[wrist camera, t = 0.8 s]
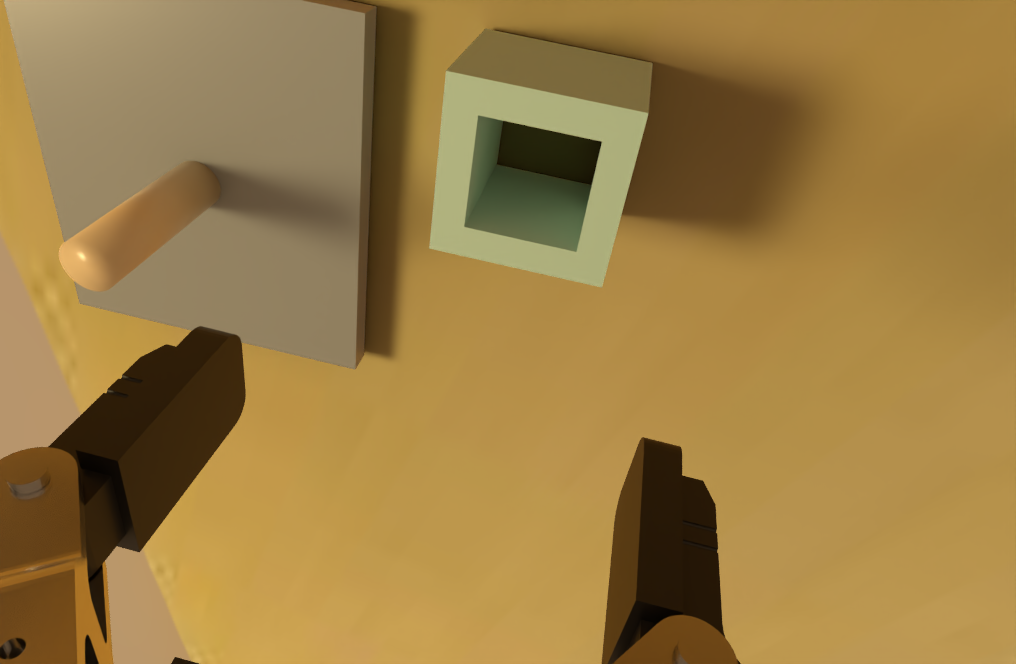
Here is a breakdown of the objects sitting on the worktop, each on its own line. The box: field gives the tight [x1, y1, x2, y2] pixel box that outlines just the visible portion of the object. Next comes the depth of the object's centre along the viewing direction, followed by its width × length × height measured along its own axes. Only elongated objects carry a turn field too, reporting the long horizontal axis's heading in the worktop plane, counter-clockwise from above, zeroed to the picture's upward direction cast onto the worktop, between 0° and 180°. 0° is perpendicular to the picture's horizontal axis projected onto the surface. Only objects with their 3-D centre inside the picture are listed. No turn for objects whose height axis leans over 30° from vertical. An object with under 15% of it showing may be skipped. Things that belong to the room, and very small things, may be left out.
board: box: [4, 0, 377, 369], centre depth 28 cm, size 16×14×8 cm
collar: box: [429, 29, 653, 287], centre depth 25 cm, size 6×6×6 cm
